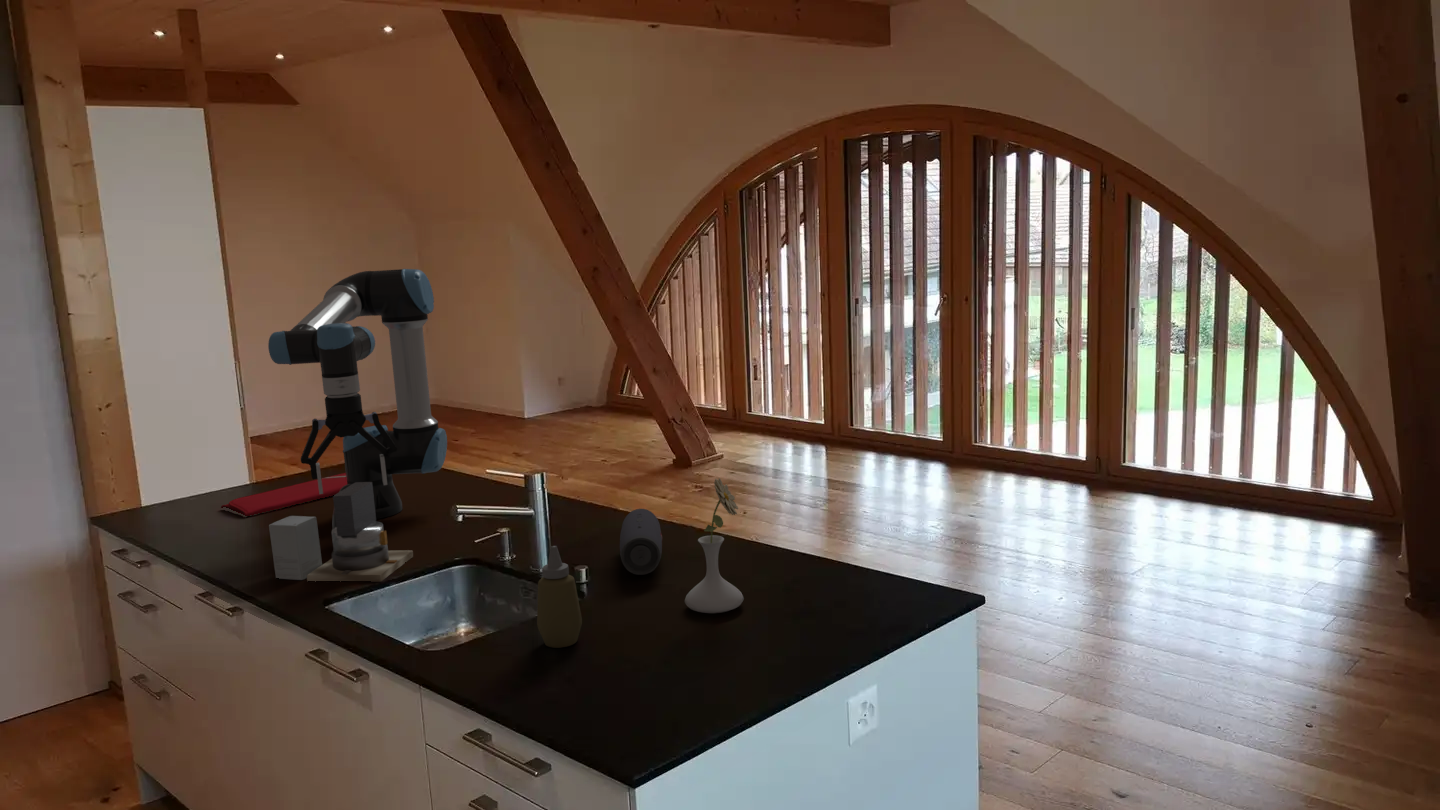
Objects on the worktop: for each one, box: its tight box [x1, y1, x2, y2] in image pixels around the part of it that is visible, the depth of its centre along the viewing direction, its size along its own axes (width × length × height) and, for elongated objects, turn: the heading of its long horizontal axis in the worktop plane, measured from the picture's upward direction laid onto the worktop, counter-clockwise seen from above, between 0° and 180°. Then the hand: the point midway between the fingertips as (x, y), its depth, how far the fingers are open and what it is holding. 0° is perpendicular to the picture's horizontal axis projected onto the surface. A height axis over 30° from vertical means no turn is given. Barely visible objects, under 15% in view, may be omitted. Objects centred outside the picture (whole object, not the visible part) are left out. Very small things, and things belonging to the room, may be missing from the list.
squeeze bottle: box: [536, 545, 583, 649], centre depth 191 cm, size 8×8×18 cm
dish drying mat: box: [220, 472, 347, 516], centre depth 309 cm, size 16×41×4 cm, turn 139°
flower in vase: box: [684, 477, 745, 614], centre depth 205 cm, size 13×11×25 cm
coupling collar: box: [331, 482, 388, 557], centre depth 239 cm, size 12×12×14 cm
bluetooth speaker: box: [619, 508, 663, 576], centre depth 234 cm, size 23×9×10 cm, turn 4°
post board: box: [306, 543, 414, 583], centre depth 240 cm, size 17×17×4 cm
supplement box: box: [268, 515, 323, 581], centre depth 238 cm, size 7×7×13 cm
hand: (353, 488), depth 238 cm, fingers open, 13 cm apart
